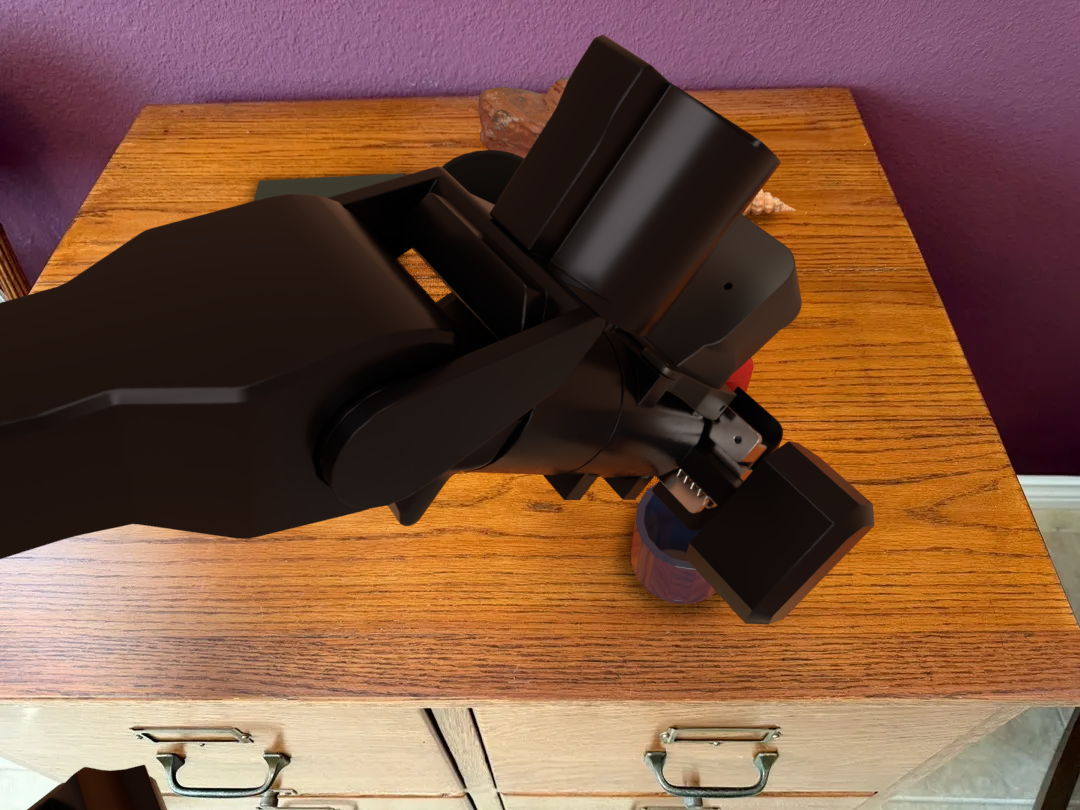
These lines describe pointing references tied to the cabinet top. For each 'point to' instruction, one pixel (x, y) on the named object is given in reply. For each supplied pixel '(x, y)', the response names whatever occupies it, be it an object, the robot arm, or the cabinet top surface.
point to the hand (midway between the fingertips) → (730, 425)
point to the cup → (484, 172)
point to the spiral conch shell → (766, 204)
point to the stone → (516, 116)
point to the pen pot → (665, 554)
